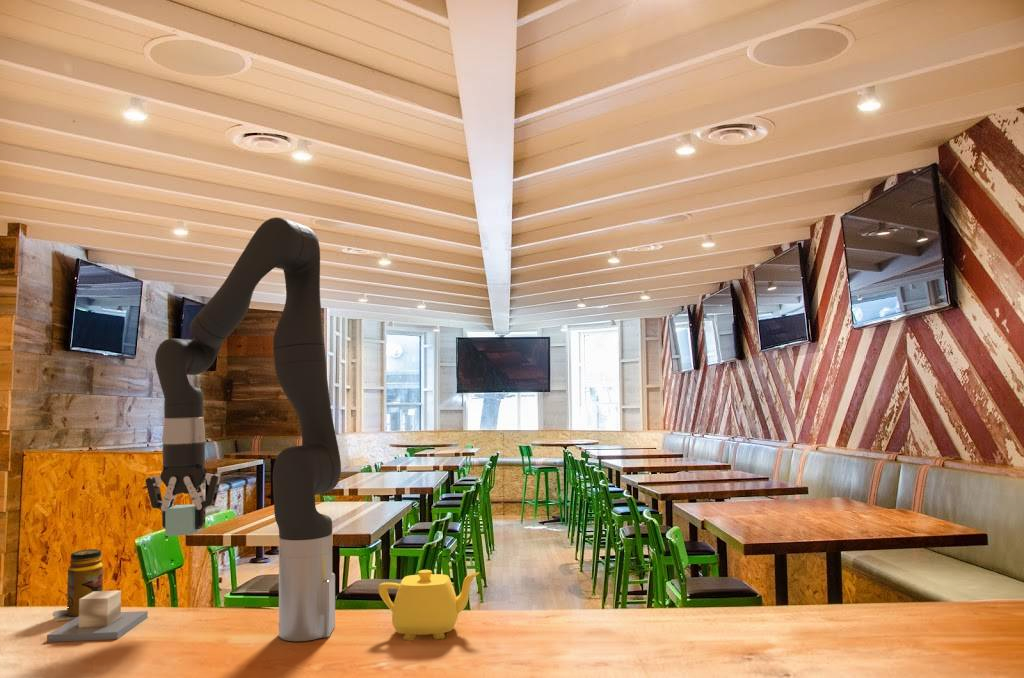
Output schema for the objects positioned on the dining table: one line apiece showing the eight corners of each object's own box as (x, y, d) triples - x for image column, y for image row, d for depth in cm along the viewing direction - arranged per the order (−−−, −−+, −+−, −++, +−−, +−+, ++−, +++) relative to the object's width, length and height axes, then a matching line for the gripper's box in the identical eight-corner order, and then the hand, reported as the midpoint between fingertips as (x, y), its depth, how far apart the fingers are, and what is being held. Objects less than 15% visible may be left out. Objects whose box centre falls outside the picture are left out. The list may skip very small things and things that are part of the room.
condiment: (105, 614, 142) (106, 552, 143) (54, 622, 137) (56, 558, 138) (102, 605, 148) (103, 545, 149) (53, 613, 143) (55, 551, 144)
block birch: (120, 617, 135) (120, 590, 136) (107, 626, 130) (107, 598, 131) (93, 618, 135) (93, 591, 135) (78, 627, 130) (79, 599, 131)
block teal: (201, 529, 142) (201, 504, 143) (192, 534, 137) (192, 508, 138) (175, 530, 142) (176, 505, 142) (165, 535, 137) (165, 509, 137)
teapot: (480, 620, 133) (479, 561, 134) (479, 641, 122) (478, 577, 123) (383, 623, 133) (382, 564, 134) (373, 645, 122) (373, 580, 123)
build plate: (147, 617, 139) (147, 611, 139) (117, 639, 127) (117, 632, 127) (83, 619, 138) (83, 613, 138) (46, 641, 126) (47, 634, 126)
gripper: (227, 438, 145) (228, 524, 144) (154, 440, 144) (154, 527, 143) (214, 441, 137) (214, 531, 136) (137, 443, 137) (136, 534, 135)
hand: (183, 528), depth 140 cm, fingers closed on block teal, 5 cm apart
